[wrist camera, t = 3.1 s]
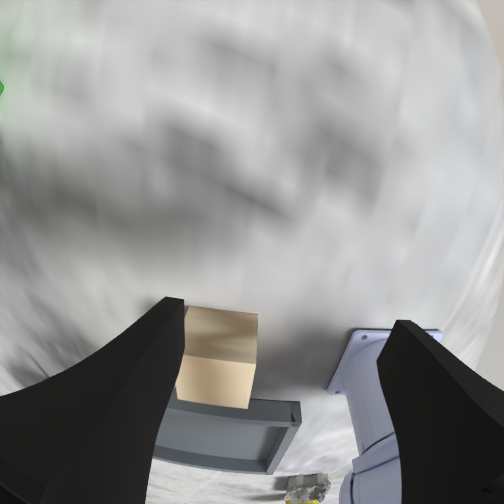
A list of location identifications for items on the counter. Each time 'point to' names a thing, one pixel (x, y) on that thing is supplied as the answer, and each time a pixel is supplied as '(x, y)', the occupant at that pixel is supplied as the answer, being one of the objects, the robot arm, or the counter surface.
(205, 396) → the wooden cube
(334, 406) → the counter surface
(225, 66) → the counter surface
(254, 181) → the counter surface
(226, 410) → the tray
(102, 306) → the counter surface
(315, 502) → the supplement bottle
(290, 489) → the grey lumpy block
